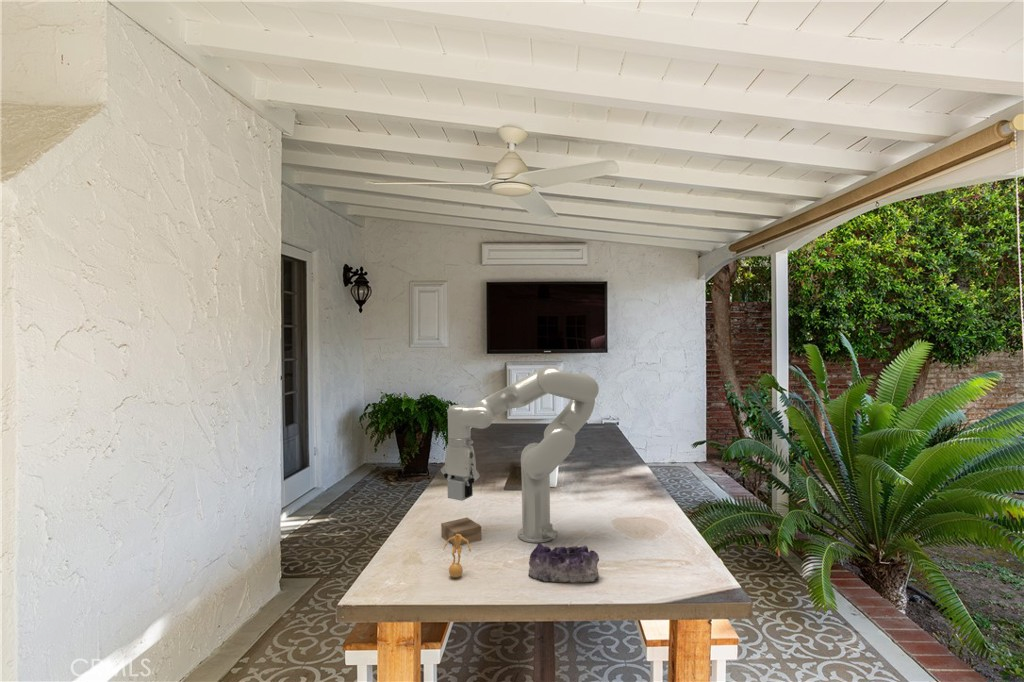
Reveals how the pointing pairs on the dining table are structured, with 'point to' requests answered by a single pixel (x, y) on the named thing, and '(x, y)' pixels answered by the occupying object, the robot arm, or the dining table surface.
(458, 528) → the walnut block
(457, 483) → the slate block
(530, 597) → the dining table surface
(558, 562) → the geode
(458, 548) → the figurine
